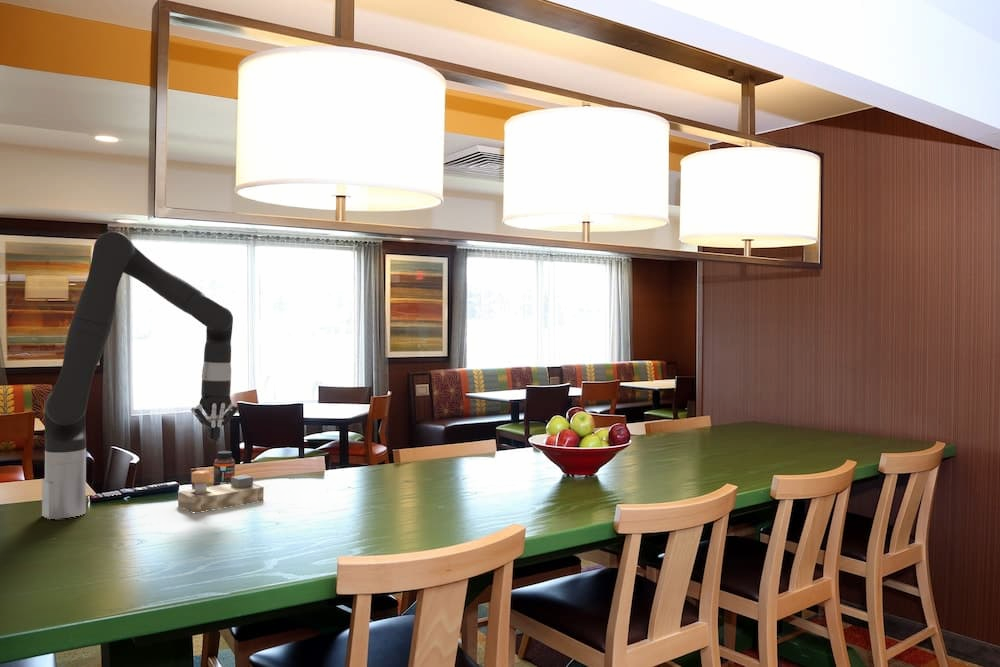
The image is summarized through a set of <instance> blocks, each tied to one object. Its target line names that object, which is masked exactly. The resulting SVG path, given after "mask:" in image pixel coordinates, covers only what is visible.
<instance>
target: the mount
mask: <svg viewBox="0 0 1000 667" xmlns="http://www.w3.org/2000/svg"><path fill="white" fill-rule="evenodd" d="M264 492H265V491H264V486H262V485H259V484H256V483H254V482H253V486H249V487H245V488H239V489H238V488H235V487H234V486H232V485H231V483H230V484H223V485H217V486H214V485H213V486H211V485H210V486H207V494H203V495H197V496H196V495H195V488H193V489H188V490H187V489H186V490H180V491H178V493H177V494H178V495H177V496H178V500H177V507H180V508H181V507H182V508H181V509H183V508H185V509H187V510H189V511H188V512H190V511H192V512H200V513H202V512H201V511H206V510H211V511H213V510H212V509H217V510H219V509H218V508H222V509H225V508H224V507H228V508H231V507H230V506H233V507H236V506H235V505H239V506H242V505H241V504H244V505H247V503H249V504H253V503H252V502H255V503H258V502H257V501H260V502H264ZM185 509H184V510H185ZM187 510H186V511H187ZM192 512H191V513H192ZM206 512H207V511H206Z"/></svg>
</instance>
